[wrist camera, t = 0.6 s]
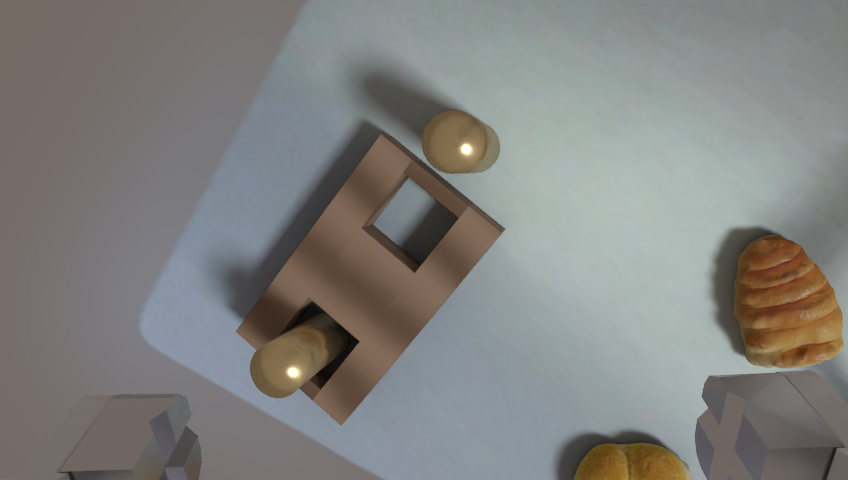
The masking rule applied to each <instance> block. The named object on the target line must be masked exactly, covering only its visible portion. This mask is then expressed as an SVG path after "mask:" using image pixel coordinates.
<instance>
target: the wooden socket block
mask: <svg viewBox="0 0 848 480" xmlns="http://www.w3.org/2000/svg"><path fill="white" fill-rule="evenodd" d="M408 177H410V178H411V179H412V180H413V181H414V182H416V183H417V184H418V185H419V186H421V187H422V188H423V189H424V190H425V191H427V192H428V193H429V194H430V195H431V196H433V197H434V198H435V199H436V200H437V201H439V202H440V203H441V204H442V205H444V206H445V207H446V208H447V209H448V210H450V211H451V212H452V213H453V214H454V215H456V216H457V217H458V218H459V219H458V220H457V221H456V223H455V224H454V225H453V226H452V227H451V229H450V230H449V231H448V232H447V234H446V235H445V236H444V237H443V239H442V240H441V241H440V242H439V244H438V245H437V246H436V247H435V249H434V250H433V251H432V252H431V254H430V255H429V256H428V257H427V259H426V260H425V261H424V262H423V264H422V265H420V264H419V263H418V262H417V261H415V260H414V259H413V258H412V257H411V256H409V255H408V254H407V253H406V252H405V251H403V250H402V249H401V248H400V247H399V246H398V245H396V244H395V243H394V242H393V241H392V240H390V239H389V238H388V237H387V236H386V235H384V234H383V233H382V232H381V231H380V230H379V229H377V228H376V227H375V226H374V225H373V223H374V222H375V221H376V219H377V218H378V217H379V215H380V214H381V213H382V211H383V210H384V209H385V207H386V206H387V205H388V204H389V202H390V201H391V200H392V198H393V197H394V196H395V194H396V193H397V192H398V190H399V189H400V188H401V187H402V185H403V184H404V183H405V181H406V180H407V179H408ZM504 230H505V228H503V227H502V226H501V225H500V224H498V223H497V222H496V221H495V220H494V219H492V218H491V217H490V216H489V215H487V214H486V213H485V212H484V211H483V210H481V209H480V208H479V207H478V206H476V205H475V204H474V203H473V202H472V201H470V200H469V199H468V198H467V197H465V196H464V195H463V194H462V193H461V192H459V191H458V190H457V189H456V188H454V187H453V186H452V185H451V184H450V183H448V182H447V181H446V180H445V179H443V178H442V177H441V176H440V175H439V174H437V173H436V172H435V171H434V170H432V169H431V168H430V167H429V166H428V165H426V164H425V163H424V162H423V161H422V160H420V159H419V158H418V157H417V156H415V155H414V154H413V153H412V152H411V151H409V150H408V149H407V148H406V147H404V146H403V145H402V144H401V143H400V142H398V141H397V140H396V139H395V138H393V137H392V136H389V135H384V134H381V135H380V136H379V137H378V139H377V140H376V141H375V143H374V144H373V146H372V147H371V148H370V150H369V151H368V152H367V154H366V155H365V156H364V158H363V159H362V161H361V162H360V163H359V165H358V166H357V167H356V169H355V170H354V171H353V173H352V174H351V175H350V177H349V178H348V180H347V181H346V182H345V184H344V185H343V186H342V188H341V189H340V190H339V192H338V193H337V195H336V196H335V197H334V199H333V200H332V201H331V203H330V204H329V205H328V207H327V208H326V209H325V211H324V212H323V214H322V215H321V216H320V218H319V219H318V220H317V222H316V223H315V224H314V226H313V227H312V228H311V230H310V231H309V233H308V234H307V235H306V237H305V238H304V239H303V241H302V242H301V243H300V245H299V246H298V248H297V249H296V250H295V252H294V253H293V254H292V256H291V257H290V258H289V260H288V261H287V262H286V264H285V265H284V267H283V268H282V269H281V271H280V272H279V273H278V275H277V276H276V277H275V279H274V280H273V281H272V283H271V284H270V286H269V287H268V288H267V290H266V291H265V292H264V294H263V295H262V296H261V298H260V299H259V301H258V302H257V303H256V305H255V306H254V307H253V309H252V310H251V311H250V313H249V314H248V315H247V317H246V318H245V320H244V321H243V322H242V324H241V325H240V326H239V328H238V329H237V330H236V332H237V333H238V334H239V335H240V336H241V337H242V338H244V339H245V340H246V341H247V342H248V343H249V344H250V345H251V346H252V347H254V348H255V349H256V350H258V349H259V348H261V347H262V346H264V345H266V344H267V343H269V342H271V341H272V340H274V339H276V338H278V337H279V336H281V335H283V334H284V333H286V332H288V331H289V330H291V329H293V328H294V326H295V325H296V324H297V323H298V321H299V320H300V319H301V317H302V316H303V315H304V313H305V312H306V311H307V309H308V308H309V307H310V306H311V304H312V303H313V302H315V303H316V304H317V305H318V306H320V307H321V308H322V309H323V310H324V311H325V312H326V313H328V314H329V315H330V316H331V317H332V318H333V319H335V320H336V321H337V322H338V323H339V324H340V325H341V326H343V327H344V328H345V329H346V330H347V331H348V332H349V333H351V334H352V335H353V336H354V337H355V338H356V339H357V340H359V341H360V342H359V343H358V344H357V346H356V347H355V348H354V349H353V351H352V352H351V353H350V354H349V355H348V357H347V358H346V359H345V360H344V362H343V363H342V364H341V365H340V367H339V368H338V369H337V370H336V372H335V373H334V374H333V375H332V376H331V375H330V374H329V373H328V372H327V371H325V370H324V369H321V370H320V371H319V372H318V373H317V374H315V375H314V376H313V377H312V378H311V379H309V380H308V381H307V382H306V383H304V384H303V385H302V386H301V387H300V388H299V389H301V390H302V391H303V392H304V393H305V394H306V395H307V396H308V397H310V398H311V399H312V400H313V401H314V402H315V403H316V404H317V405H319V406H320V407H321V408H322V409H323V410H324V411H325V412H326V413H327V414H329V415H330V416H331V417H332V418H333V419H334V420H335V421H336V422H338V423H339V424H340V425H342V424H343V423H344V422H345V421H346V420H347V418H348V417H349V416H350V415H351V414H352V413H353V411H354V410H355V409H356V408H357V407H358V405H359V404H360V403H361V402H362V401H363V399H364V398H365V397H366V396H367V395H368V393H369V392H370V391H371V390H372V389H373V387H374V386H375V385H376V384H377V383H378V381H379V380H380V379H381V378H382V377H383V375H384V374H385V373H386V372H387V371H388V369H389V368H390V367H391V366H392V365H393V363H394V362H395V361H396V360H397V359H398V357H399V356H400V355H401V354H402V353H403V351H404V350H405V349H406V348H407V347H408V345H409V344H410V343H411V342H412V341H413V339H414V338H415V337H416V336H417V335H418V333H419V332H420V331H421V330H422V329H423V327H424V326H425V325H426V324H427V323H428V321H429V320H430V319H431V318H432V317H433V315H434V314H435V313H436V312H437V311H438V309H439V308H440V307H441V306H442V305H443V303H444V302H445V301H446V300H447V299H448V297H449V296H450V295H451V294H452V293H453V291H454V290H455V289H456V288H457V287H458V285H459V284H460V283H461V282H462V280H463V279H464V278H465V277H466V276H467V274H468V273H469V272H470V271H471V270H472V268H473V267H474V266H475V265H476V264H477V262H478V261H479V260H480V259H481V258H482V256H483V255H484V254H485V253H486V252H487V250H488V249H489V248H490V247H491V246H492V244H493V243H494V242H495V241H496V240H497V238H498V237H499V236H500V235H501V234H502V232H503V231H504Z"/></svg>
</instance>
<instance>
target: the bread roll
mask: <svg viewBox="0 0 848 480" xmlns="http://www.w3.org/2000/svg"><path fill="white" fill-rule="evenodd" d="M690 476H691V474H690V469H689V467H688V465H687V464H686V463H685V462H684V461H682V460H681V459H679V458H678V457H677V456H676V455H675V454H674V453H672V452H671V451H669V450H668V449H666V448H664V447H661V446H658V445H654V444H649V443H633V444H612V443H608V444H600V445H597V446H595V447H594V448H593V449H591V450H590V451H589V452H588V453H587V455H586V456H585V457H584V459H583V460H582V462H581V463H580V465H579V467H578V469H577V472H576V474H575V477H574V480H691V477H690Z"/></svg>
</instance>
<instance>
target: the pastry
mask: <svg viewBox="0 0 848 480" xmlns="http://www.w3.org/2000/svg"><path fill="white" fill-rule="evenodd" d="M734 286H735V295H734V301H735V302H734V308H733V310H734V316H735V318H736V319H737V320H738V322H739V326H740V331H741V336H742V340H743V342H744V345H745V356H746V359H747V360H748V361H749V362H750V363H751V364H753V365H757V366H762V367H768V368H771V367H779V368H792V367H803V366H809V365H816V364H818V363H820V362H822V361H824V360H829V359H831V358H833V357H834V356H836V355H837V354H838V353H839V352H840V350H841V349H842V348H843V340H842V329H843V325H842V312H841V310H840V308H839V305H838V303H837V301H836V297H835V293H834V290H833V288H832V287H831V286H830V284H829V282H828V280H827V278H826V277H825V276H824V275H823V274H822V272H821V271H820V270H819V268H818V266H817V265H816V264H814V263H813V261H812V260H811V259H809V258H808V256H807V255H806V253H805V252H804V250H803V248H802V247H801V246H800V245H799V244H797V243H794V242H793V241H790V240H787V239H785V238H783V237H782V236H780V235H767V236H763V237H760V238H758V239H757V240H755V241H753V242H751V243H750V244H749V245H748V246H747V248H746V249H745V250H744V251H743V252H742V253H741V254H740V256H739V257H738V267H737V277H736V280H735V282H734Z"/></svg>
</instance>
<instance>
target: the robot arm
mask: <svg viewBox="0 0 848 480" xmlns="http://www.w3.org/2000/svg"><path fill="white" fill-rule="evenodd" d="M702 398H703V399H704V401H705V403H706V404H707V406H708V409H707V410H706V411H705V412H704V413H703V414H702V415H701V416H700V417H699V418H698V419H697V424H696V431H695V443H696V452H697V456H698V460H699V463H700V466H701V468H702V470H703V472H704V474H705V476H706V478H707V480H848V405H847V404H846V403H845V402H844V401H843V400H842V398H841V397H840V396H839V395H838V394H837V393H836V392H835V391H834V390H833V389H832V388H831V387H830V386H829V385H828V384H827V383H826V381H825V380H824V379H823V378H822V377H821V376H820V375H819V374H817V373H815V372H813V371H810V370H804V371H786V372H776V373H763V374H738V375H713V376H709V377H708V379H707V380H706V382H705V383H704V388H703V393H702ZM191 414H192V413H191V410H190V407H189V404H188V401H187V397H185V396H183V395H181V394H119V395H88V396H86V397H84V398H81V399H79V400H78V401H77V402H76V403H75V405H74V406H73V407H72V409H71V410H70V411H69V413H68V414H67V415H66V416H65V418H64V419H63V420H62V421H61V423H60V424H59V425H58V427H57V428H56V429H55V430H54V432H53V433H52V434H51V436H50V437H49V438H48V439H47V441H46V442H45V443H44V444H43V446H42V447H41V449H40V450H39V451H38V452H37V453H36V455H35V456H34V457H33V459H32V460H31V461H30V462H29V464H28V465H27V466H26V468H25V469H24V470H23V471H22V473H21V474H19V475H9V476H7V477H5V478H4V479H2V480H199V475H200V469H201V463H202V461H201V447H200V443H199V439H198V435H196V434H195V433H194V432H193V431H192V430H190V429H189V428H188V427H187V426H186V424H187V422H188V420H189V418H190V416H191Z"/></svg>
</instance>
